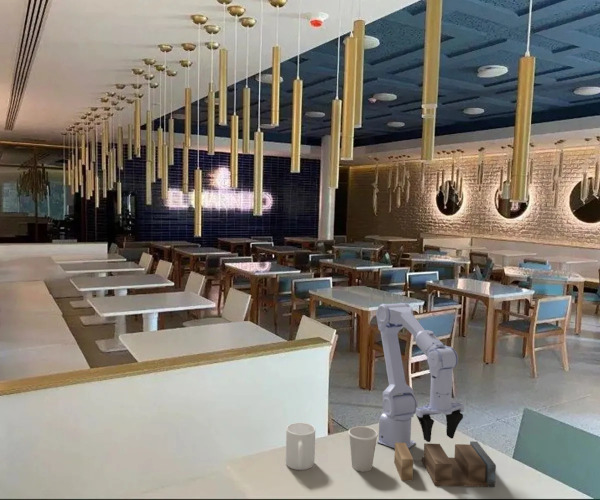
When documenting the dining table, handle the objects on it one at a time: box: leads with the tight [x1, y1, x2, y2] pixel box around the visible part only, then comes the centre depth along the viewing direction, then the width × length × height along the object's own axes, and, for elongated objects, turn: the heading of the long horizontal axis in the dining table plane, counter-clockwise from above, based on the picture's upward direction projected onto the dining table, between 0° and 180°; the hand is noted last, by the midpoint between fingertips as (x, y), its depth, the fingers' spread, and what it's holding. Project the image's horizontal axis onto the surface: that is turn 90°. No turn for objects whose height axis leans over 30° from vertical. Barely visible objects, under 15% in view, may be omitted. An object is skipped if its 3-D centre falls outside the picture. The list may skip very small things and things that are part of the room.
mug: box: [285, 422, 316, 471], centre depth 141 cm, size 12×8×10 cm
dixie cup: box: [347, 425, 379, 473], centre depth 142 cm, size 8×8×10 cm
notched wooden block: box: [421, 440, 497, 488], centre depth 140 cm, size 16×14×6 cm
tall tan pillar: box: [393, 443, 414, 482], centre depth 140 cm, size 3×10×6 cm, turn 0°
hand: (438, 438), depth 139 cm, fingers open, 7 cm apart
